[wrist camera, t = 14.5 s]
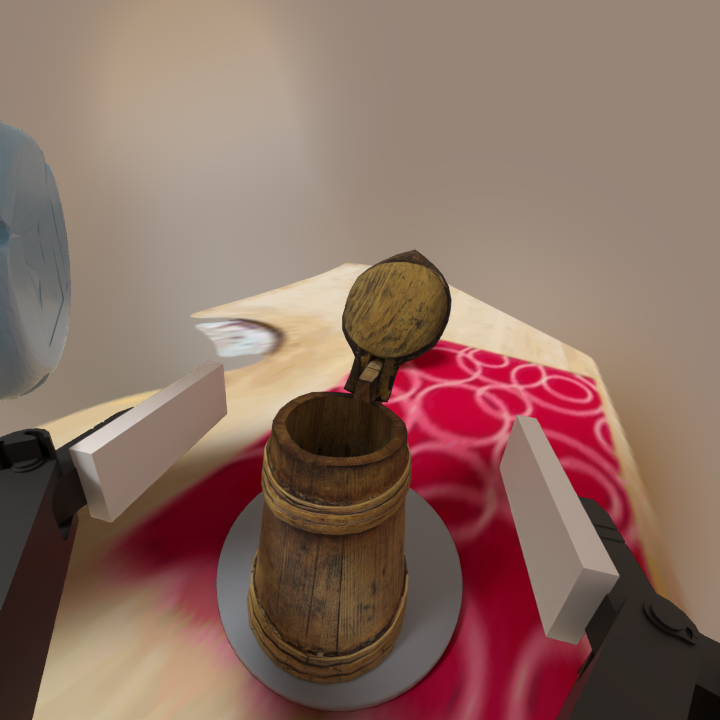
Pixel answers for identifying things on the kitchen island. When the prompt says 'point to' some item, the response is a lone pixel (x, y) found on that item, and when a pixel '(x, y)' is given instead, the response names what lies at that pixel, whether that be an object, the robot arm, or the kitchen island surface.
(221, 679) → the kitchen island surface
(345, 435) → the wooden mug
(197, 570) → the kitchen island surface
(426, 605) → the grey mat
